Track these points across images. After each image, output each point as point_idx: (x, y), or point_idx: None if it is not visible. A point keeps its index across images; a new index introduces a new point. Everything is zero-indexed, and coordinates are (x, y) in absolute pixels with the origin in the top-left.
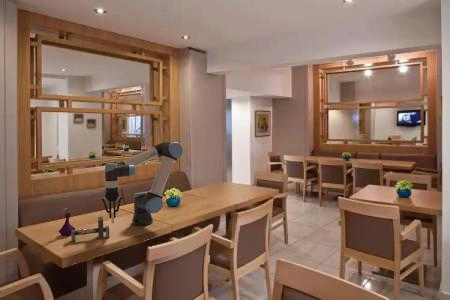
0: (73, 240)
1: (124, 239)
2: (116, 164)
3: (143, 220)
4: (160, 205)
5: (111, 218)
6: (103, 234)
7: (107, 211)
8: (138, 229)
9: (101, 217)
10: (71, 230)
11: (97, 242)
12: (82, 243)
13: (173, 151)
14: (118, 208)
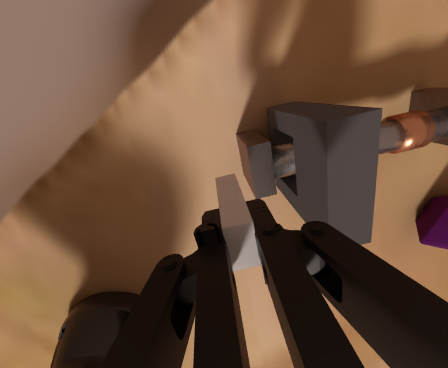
0: (430, 90)
1: (135, 83)
2: None
3: (88, 319)
4: None
5: (241, 191)
6: (273, 109)
7: (318, 231)
8: (107, 244)
9: (341, 223)
10: (442, 214)
11: (294, 57)
12: (376, 58)
13: None
14: (143, 301)
